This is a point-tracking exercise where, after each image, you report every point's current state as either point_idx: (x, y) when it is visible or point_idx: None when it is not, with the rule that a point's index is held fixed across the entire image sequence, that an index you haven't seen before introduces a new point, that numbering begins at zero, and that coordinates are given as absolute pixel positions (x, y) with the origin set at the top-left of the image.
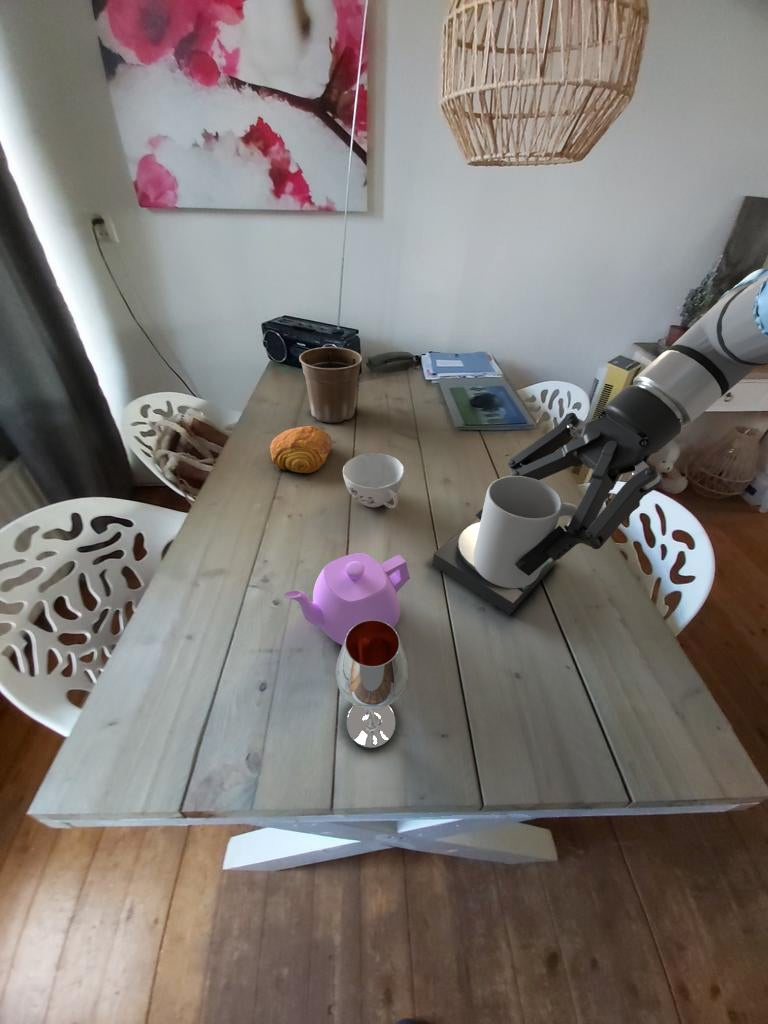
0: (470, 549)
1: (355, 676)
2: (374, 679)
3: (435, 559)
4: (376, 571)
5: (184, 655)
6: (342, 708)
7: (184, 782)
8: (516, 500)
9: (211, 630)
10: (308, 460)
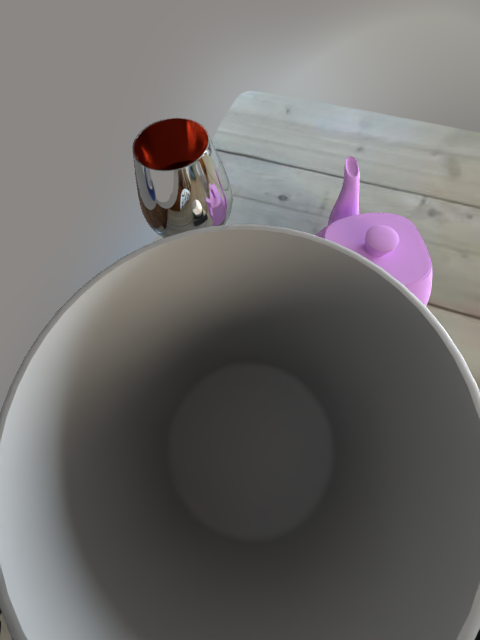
0: None
1: (154, 142)
2: (138, 156)
3: None
4: None
5: (338, 146)
6: None
7: (223, 148)
8: (378, 522)
9: (363, 164)
10: None
